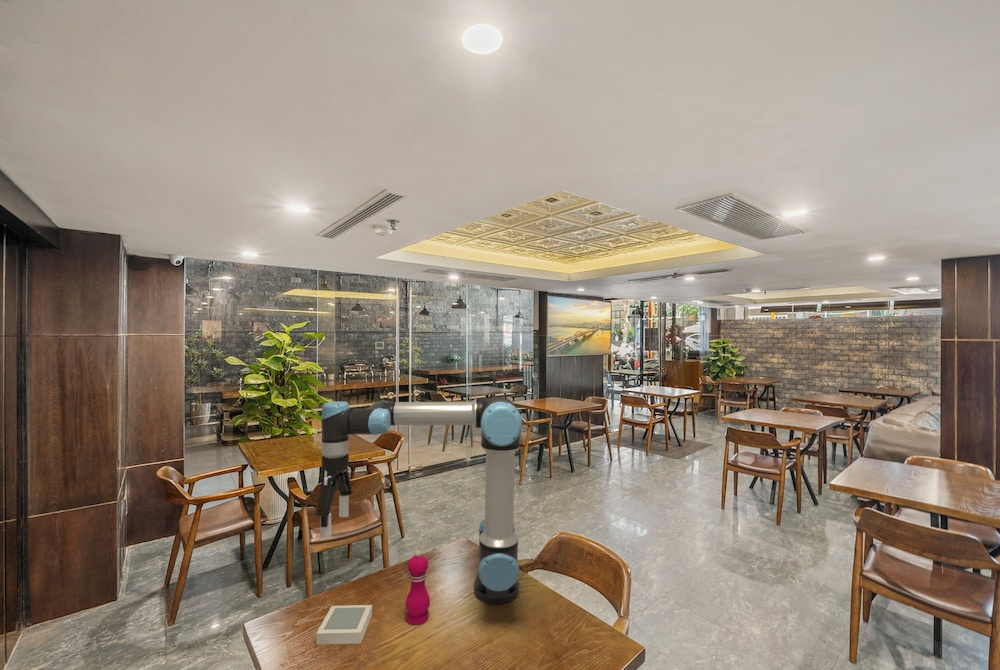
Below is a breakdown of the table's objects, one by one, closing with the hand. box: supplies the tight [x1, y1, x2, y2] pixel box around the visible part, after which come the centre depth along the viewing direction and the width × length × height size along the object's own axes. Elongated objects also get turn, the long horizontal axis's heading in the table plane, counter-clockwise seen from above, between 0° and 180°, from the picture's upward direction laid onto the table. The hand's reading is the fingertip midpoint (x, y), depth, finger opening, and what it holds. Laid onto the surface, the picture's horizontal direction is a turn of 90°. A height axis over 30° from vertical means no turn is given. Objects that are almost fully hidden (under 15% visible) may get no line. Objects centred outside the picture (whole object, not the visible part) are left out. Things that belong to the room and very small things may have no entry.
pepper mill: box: [404, 550, 431, 626], centre depth 128 cm, size 7×7×20 cm
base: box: [315, 604, 373, 645], centre depth 123 cm, size 12×12×3 cm
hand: (335, 526), depth 126 cm, fingers open, 13 cm apart
